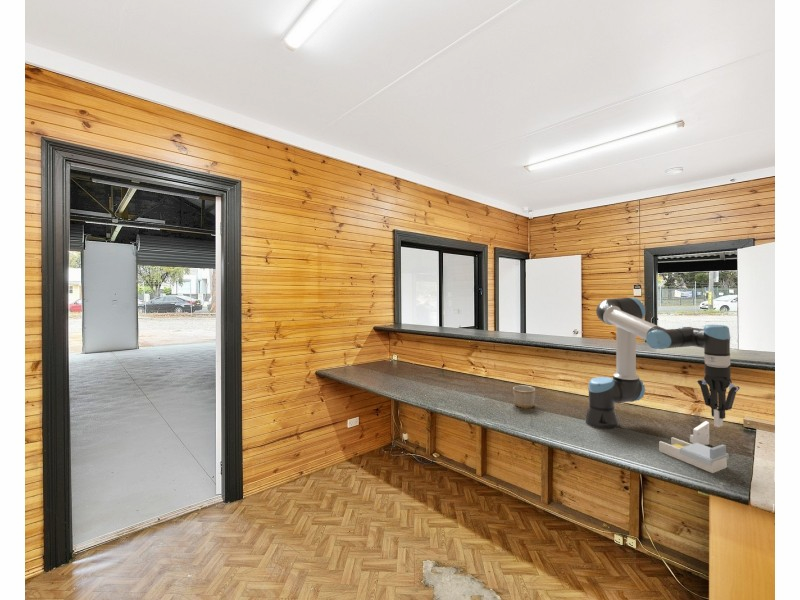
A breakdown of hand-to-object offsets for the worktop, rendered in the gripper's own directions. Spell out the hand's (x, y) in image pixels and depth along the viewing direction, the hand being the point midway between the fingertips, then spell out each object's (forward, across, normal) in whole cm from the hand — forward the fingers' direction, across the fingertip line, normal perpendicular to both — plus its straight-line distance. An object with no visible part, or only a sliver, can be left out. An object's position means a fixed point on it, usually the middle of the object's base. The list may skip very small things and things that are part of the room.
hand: (718, 425), depth 142 cm
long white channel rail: (+18, -10, 0) cm, 20 cm away
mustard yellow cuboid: (+18, -14, 0) cm, 23 cm away
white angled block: (+18, -17, +18) cm, 31 cm away
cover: (+14, -6, 0) cm, 15 cm away
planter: (+16, -92, -17) cm, 95 cm away
